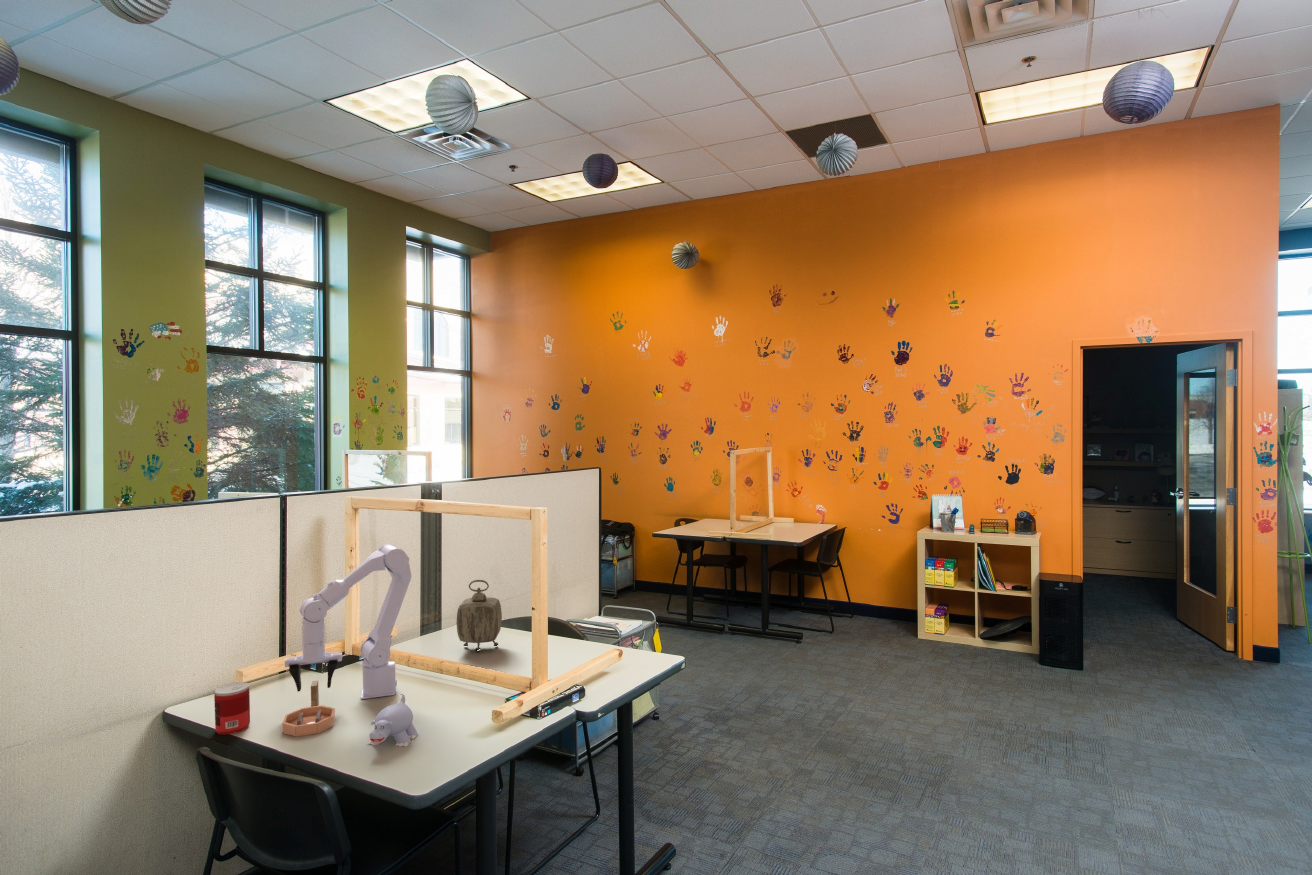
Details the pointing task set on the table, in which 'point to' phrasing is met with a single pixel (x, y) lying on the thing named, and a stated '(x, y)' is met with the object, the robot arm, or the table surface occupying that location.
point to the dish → (308, 720)
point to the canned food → (232, 708)
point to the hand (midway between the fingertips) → (314, 688)
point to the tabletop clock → (479, 618)
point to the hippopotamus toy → (394, 725)
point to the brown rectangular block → (314, 694)
